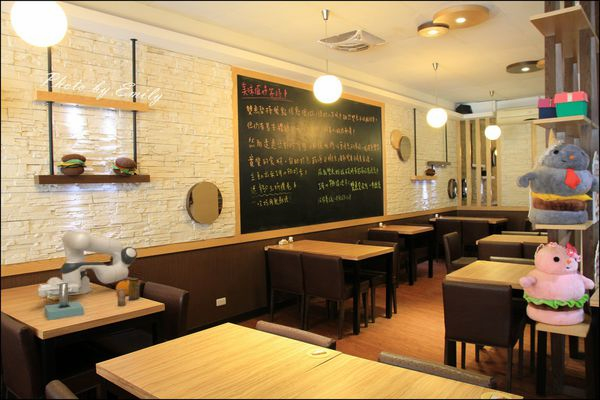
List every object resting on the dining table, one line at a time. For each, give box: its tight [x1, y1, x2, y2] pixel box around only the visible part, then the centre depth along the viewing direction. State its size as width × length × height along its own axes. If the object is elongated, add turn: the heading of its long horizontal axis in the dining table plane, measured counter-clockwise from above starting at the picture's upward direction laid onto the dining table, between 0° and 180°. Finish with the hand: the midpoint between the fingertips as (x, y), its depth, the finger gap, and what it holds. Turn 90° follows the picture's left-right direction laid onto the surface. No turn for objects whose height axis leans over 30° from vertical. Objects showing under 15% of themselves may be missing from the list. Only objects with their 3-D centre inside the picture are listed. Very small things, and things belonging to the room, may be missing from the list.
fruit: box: [115, 278, 130, 297], centre depth 275 cm, size 12×12×10 cm
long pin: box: [58, 283, 69, 308], centre depth 231 cm, size 4×4×16 cm
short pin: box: [117, 289, 126, 307], centre depth 249 cm, size 4×4×9 cm
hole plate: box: [44, 300, 85, 321], centre depth 232 cm, size 16×16×4 cm
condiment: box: [125, 277, 143, 302], centre depth 263 cm, size 7×8×12 cm
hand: (60, 292), depth 240 cm, fingers open, 8 cm apart
